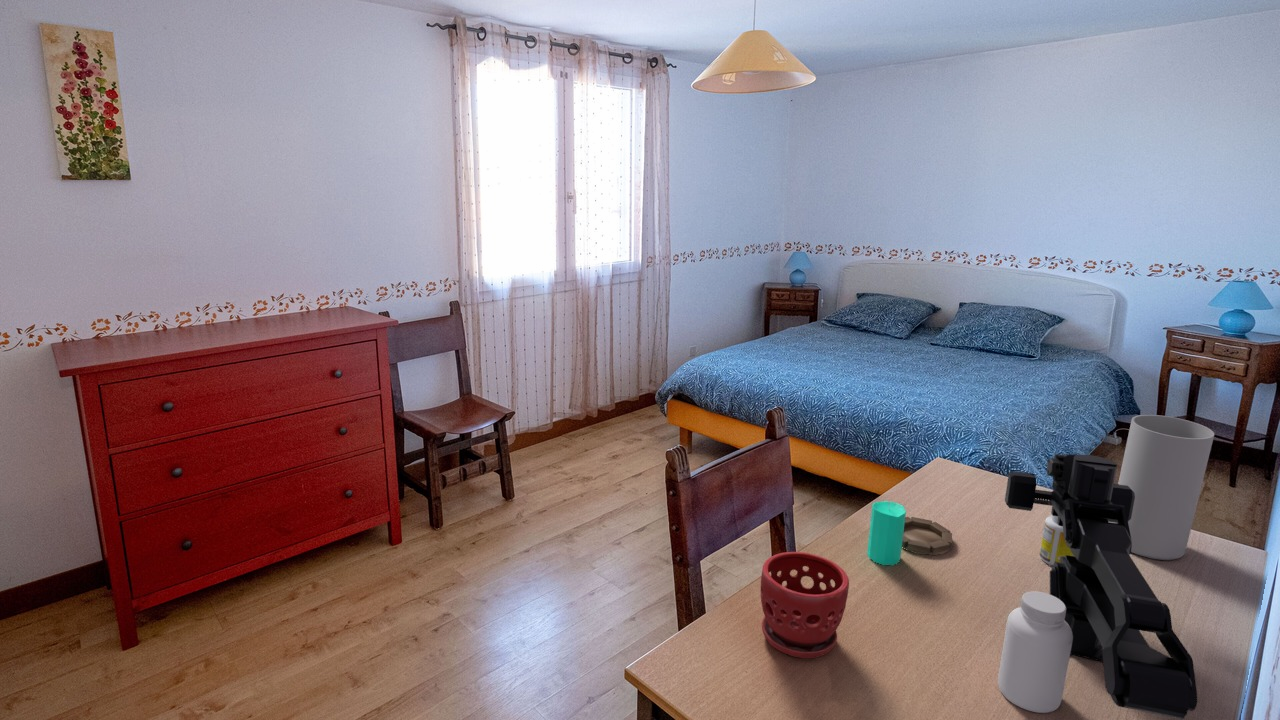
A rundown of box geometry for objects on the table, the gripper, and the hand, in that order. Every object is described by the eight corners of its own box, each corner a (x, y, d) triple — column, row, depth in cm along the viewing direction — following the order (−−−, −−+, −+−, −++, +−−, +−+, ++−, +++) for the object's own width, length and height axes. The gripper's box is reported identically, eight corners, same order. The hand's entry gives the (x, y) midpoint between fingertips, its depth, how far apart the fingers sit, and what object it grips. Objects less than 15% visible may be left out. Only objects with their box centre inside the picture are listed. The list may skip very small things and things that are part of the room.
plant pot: (840, 675, 102) (847, 604, 99) (751, 655, 106) (755, 586, 103) (845, 621, 114) (851, 557, 111) (764, 605, 118) (768, 542, 115)
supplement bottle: (1077, 562, 131) (1087, 513, 128) (1065, 572, 128) (1075, 522, 125) (1045, 549, 135) (1054, 502, 132) (1033, 559, 132) (1042, 511, 129)
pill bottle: (1003, 666, 104) (1018, 578, 100) (1064, 691, 99) (1083, 600, 95) (989, 696, 98) (1005, 604, 94) (1054, 724, 93) (1074, 628, 89)
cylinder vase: (1188, 568, 129) (1219, 444, 122) (1108, 549, 135) (1133, 430, 128) (1180, 539, 139) (1208, 422, 132) (1106, 522, 146) (1129, 410, 139)
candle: (867, 562, 131) (873, 505, 127) (866, 546, 136) (872, 491, 133) (901, 568, 129) (908, 510, 126) (899, 551, 134) (906, 495, 131)
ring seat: (951, 560, 131) (953, 553, 131) (885, 546, 136) (886, 539, 136) (952, 531, 142) (953, 524, 142) (890, 519, 147) (891, 512, 146)
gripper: (1155, 475, 108) (1121, 444, 123) (1022, 459, 114) (1005, 432, 128) (1143, 541, 111) (1111, 503, 125) (1013, 522, 116) (997, 488, 131)
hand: (1055, 480), depth 127 cm, fingers open, 9 cm apart
